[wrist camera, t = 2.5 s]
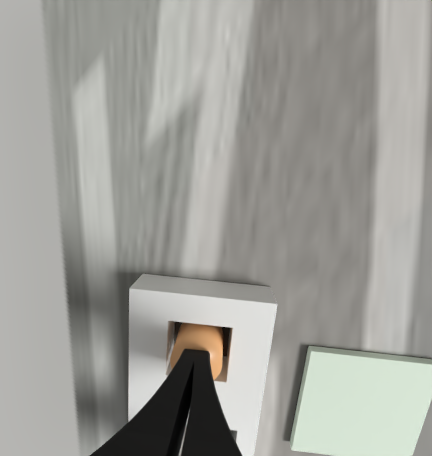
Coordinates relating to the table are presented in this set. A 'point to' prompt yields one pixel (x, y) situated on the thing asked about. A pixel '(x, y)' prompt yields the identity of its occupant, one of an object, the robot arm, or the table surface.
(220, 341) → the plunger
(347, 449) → the mat
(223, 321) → the housing
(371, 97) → the table surface
